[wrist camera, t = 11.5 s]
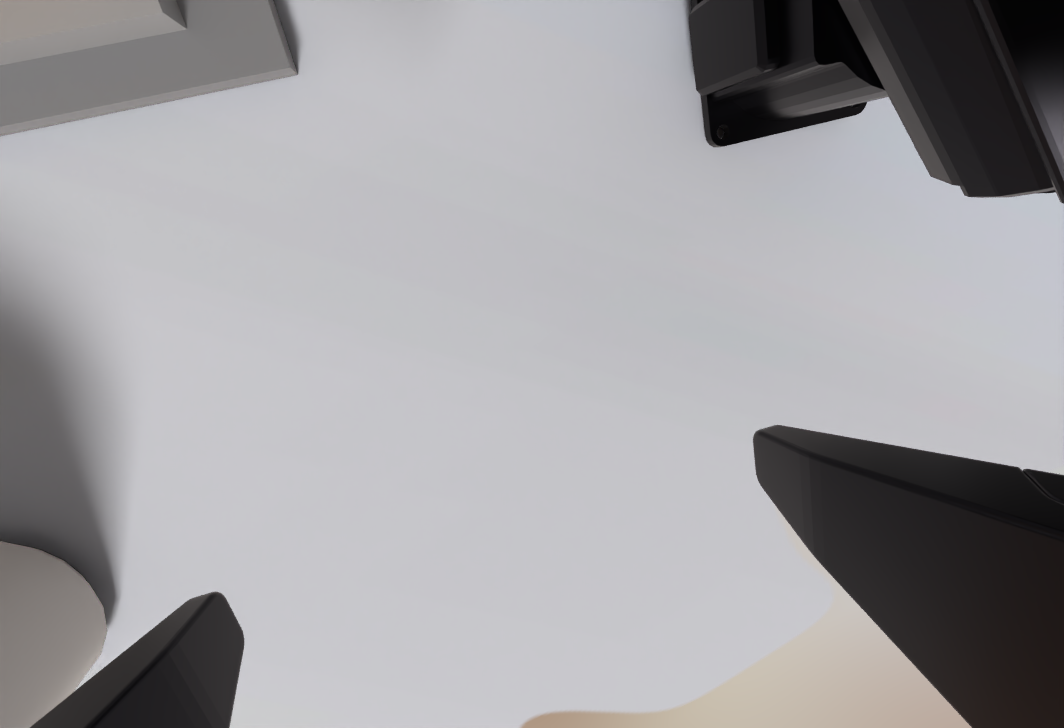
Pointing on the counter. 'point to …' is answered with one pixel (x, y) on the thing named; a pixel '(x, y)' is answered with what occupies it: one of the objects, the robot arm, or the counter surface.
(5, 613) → the can
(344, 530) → the counter surface
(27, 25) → the grey tray
